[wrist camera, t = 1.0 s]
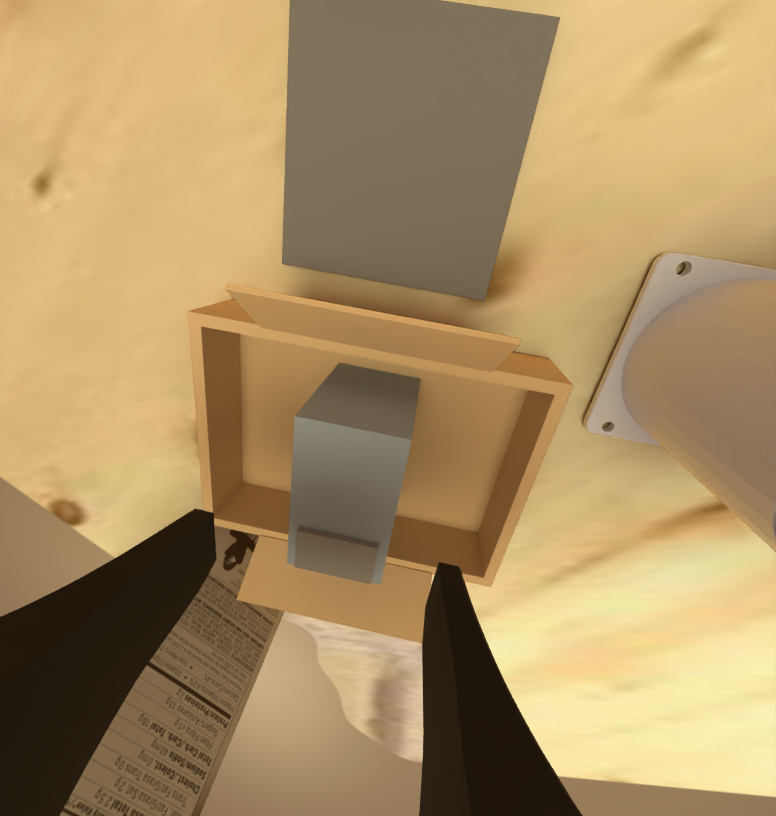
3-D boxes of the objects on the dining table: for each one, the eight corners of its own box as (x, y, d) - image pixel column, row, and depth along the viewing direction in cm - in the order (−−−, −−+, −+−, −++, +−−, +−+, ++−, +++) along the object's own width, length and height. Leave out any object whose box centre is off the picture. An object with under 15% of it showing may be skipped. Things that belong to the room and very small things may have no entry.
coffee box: (234, 603, 27) (-3, 1020, 13) (164, 550, 26) (-196, 952, 11) (314, 548, 24) (115, 1034, 9) (238, 483, 22) (-140, 938, 8)
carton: (562, 318, 16) (625, 358, 10) (475, 558, 22) (486, 660, 17) (232, 258, 17) (131, 266, 11) (238, 506, 23) (176, 588, 17)
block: (420, 378, 17) (411, 443, 12) (396, 494, 20) (379, 590, 15) (339, 362, 18) (291, 419, 12) (327, 479, 21) (284, 568, 15)
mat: (556, 24, 12) (560, 17, 12) (483, 299, 16) (484, 301, 16) (294, -13, 13) (290, -21, 12) (285, 263, 16) (282, 263, 16)
